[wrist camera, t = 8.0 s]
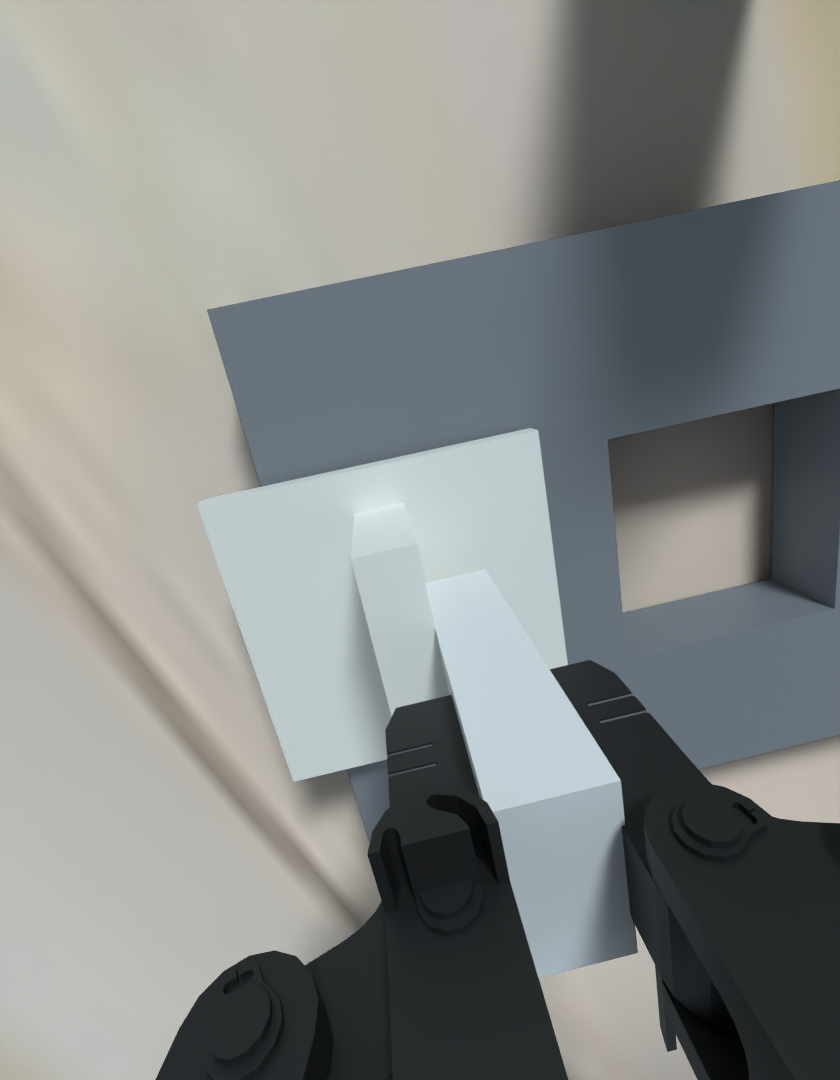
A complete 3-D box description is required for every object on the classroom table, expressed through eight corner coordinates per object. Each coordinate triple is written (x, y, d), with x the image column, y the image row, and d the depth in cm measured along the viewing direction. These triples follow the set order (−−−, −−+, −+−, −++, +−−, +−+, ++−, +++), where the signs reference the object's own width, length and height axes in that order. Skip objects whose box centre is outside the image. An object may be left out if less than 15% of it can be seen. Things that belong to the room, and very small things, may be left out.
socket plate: (1070, 150, 14) (1208, 105, 12) (988, 640, 19) (1074, 676, 17) (234, 322, 14) (207, 310, 11) (371, 790, 18) (372, 849, 16)
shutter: (530, 428, 12) (597, 446, 9) (565, 701, 15) (630, 803, 11) (204, 499, 12) (136, 548, 8) (296, 766, 15) (273, 892, 11)
